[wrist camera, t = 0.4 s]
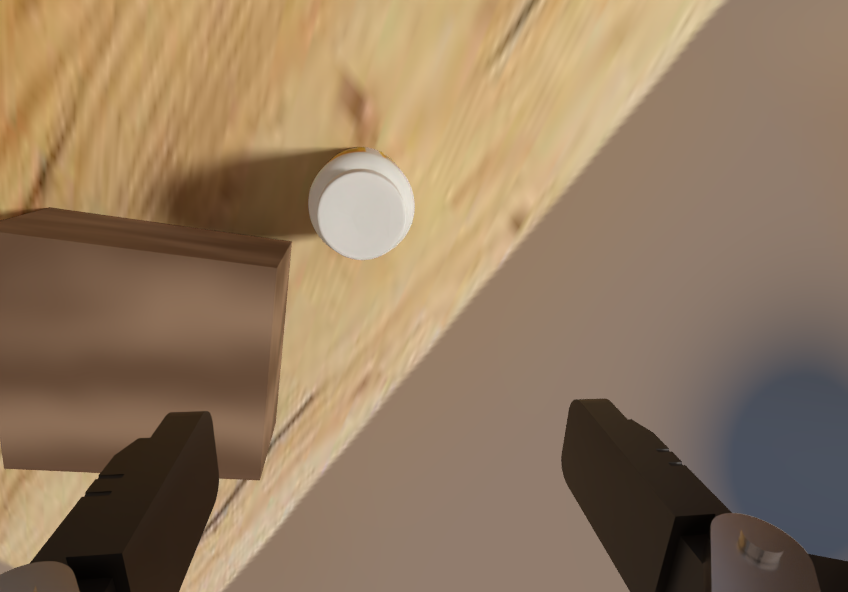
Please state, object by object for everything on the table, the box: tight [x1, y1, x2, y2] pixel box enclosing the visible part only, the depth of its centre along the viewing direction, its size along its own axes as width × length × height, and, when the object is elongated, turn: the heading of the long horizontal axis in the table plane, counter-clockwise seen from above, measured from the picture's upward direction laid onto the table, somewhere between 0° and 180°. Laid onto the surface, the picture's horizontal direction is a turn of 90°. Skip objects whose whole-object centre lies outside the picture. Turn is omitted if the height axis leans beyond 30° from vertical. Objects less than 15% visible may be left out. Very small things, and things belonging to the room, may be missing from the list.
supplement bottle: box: [308, 147, 415, 260], centre depth 25 cm, size 5×5×10 cm
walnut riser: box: [0, 208, 292, 480], centre depth 28 cm, size 14×14×6 cm
